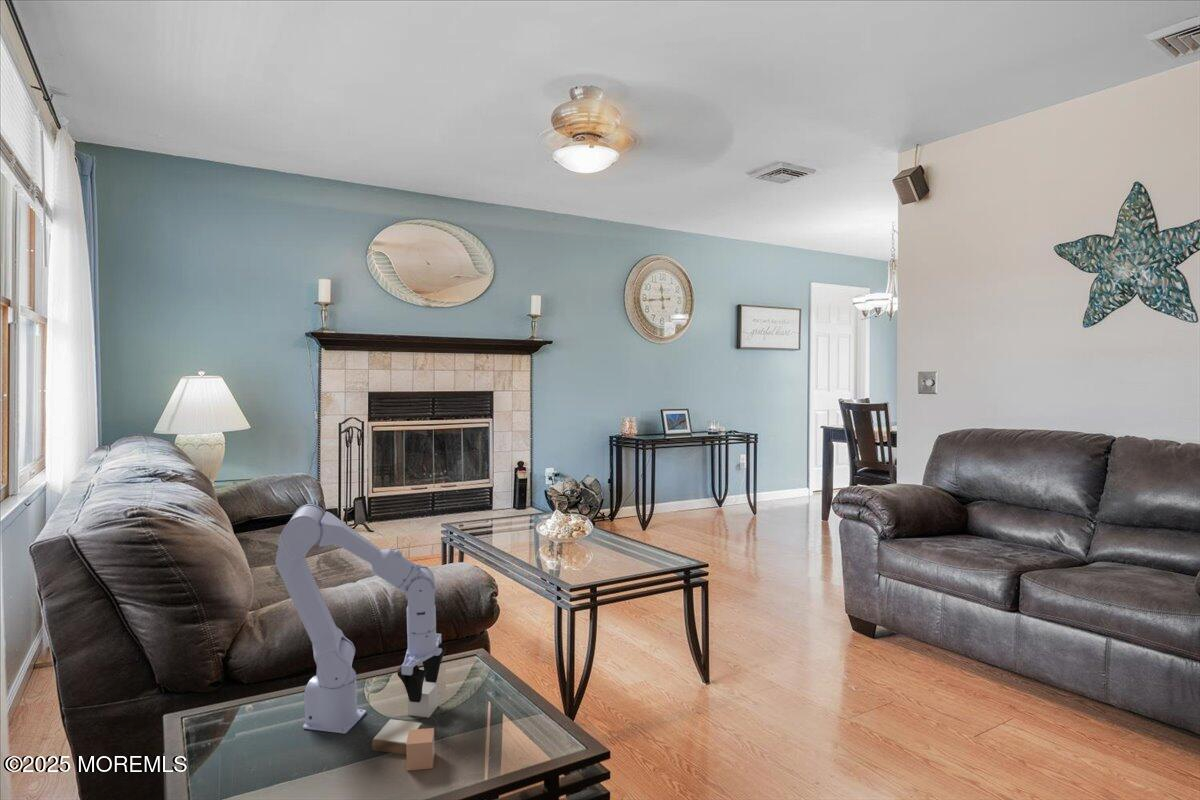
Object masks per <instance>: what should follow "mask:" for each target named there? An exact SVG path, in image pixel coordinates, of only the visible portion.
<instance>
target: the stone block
mask: <svg viewBox="0 0 1200 800" xmlns="http://www.w3.org/2000/svg"><path fill="white" fill-rule="evenodd" d="M438 707H439V683H438V682H436V683H432V682H426V681H423V687H422V697H421V701H420V702H419V703H418V702H410V700H409V697H408V696H407V709H408V710H407V711H408V712H407V713H408V714H407V715H408V716H414V717H421V718H430V717H431V715H432V714H433V713H434V712H435V711H436V709H437V708H438Z"/></svg>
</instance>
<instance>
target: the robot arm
mask: <svg viewBox="0 0 1200 800" xmlns="http://www.w3.org/2000/svg"><path fill="white" fill-rule="evenodd" d="M278 541H279V542H278V548H277V551H276V556H275V560H274V561H275V566H276V569H277V571H278V572H279V575H280V577H281V579H282V581H283V583H284V586H285V588H286V590H287V593H288V594H289V596H290V598H291V601H292V603H293V605H294V608H295V609H296V611H297V613H298V616H299V618H300V620H301V622H302V624H303V626H304V629H305V631H306V633H307V635H308V637H309V639H310V641H311V645H312V651H313V652H312V653H313V660H314V662H315V665H316V674H315V675H314V676H312V677H311V678H310V679H309V681H308V682H307V684H306V686H305V690H304V693H303V694H304V695H303V696H304V697H303V702H304V703H303V704H304V724H303V725H302V729H305V730H313V731H320V732H329V733H336V734H337V733H338V734H345V735H346V734H347V733H348V732H349V731H350V730H351V729H352V728H353V727H354V726H355V725H356V724H357V722H359V721H360V720H361V719H362V717H364V716H365V714H366V713H367V710H366V709H362V708H361V709H360V708H358V698H357V697H358V694H357V693H358V692H357V691H358V690H357V689H358V688H357V672H356V670H355V669H354V668H353V666H352V665H353V661H354V658H355V655H356V647H355V645H354V643H353V641H351V640H350V639H348V638H347V637H346V636H345V635H344V633H343V630H342V629H341V628H339V627H338V626H337V625H336V623H335V621H334V619H333V617H332V614H331V612H330V610H329V608H328V605H327V604H326V602H325V599H324V596H323V595H322V593H321V590H320V588H319V586H318V584H317V581H316V580H315V576H314V575H313V573H312V571H311V568H310V566H309V563H308V562H307V559H306V556H307V554H308V552H309V551H310V549H311V548H312V547H313V546H314V545H315V544H316V543H317V542H318V541H320V542H319V544H318V547H321V548H322V547H328V546H334V545H336V546H338V547H340V548H342V549H344V550H345V551H347V552H349V553H351V554H352V555H354V556H356V557H358V558H360V559H362V560H363V561H365V562H366V563H368V564H370V565H371V569H372V570H371V571H372V573H373V574H374V575H376V576H377V577H379V578H380V579H382V580H384V582H387V583H388V584H389V585H391V586H393V587H394V588H396V589H398V590H399V591H403V592H404V595H405V598H406V600H407V607H406V633H407V649H406V652H405V656H404V660H403V663H402V664H401V666H400V667H399V668H398V669H397V677H399V679H400V680H401V682H402V684H403V685H404V687H405V691H406V694H407V698H408V697H409V700H410V702H418V703H419V702H420V701H421V697H422V687H423V682H432V683H437V681H438V678H439V671H440V667H441V663H442V662H443V661H442V660H443V657H444V655H445V653H446V651H447V647H446V646H444V645H441V643H442V633H437V614H436V613H437V612H436V610H437V608H436V604H435V602H436V597H435V595H436V592H437V591H436V590H437V589H436V579H435V575H434V573H433V572H432V571H433V570H431V569H429V567H428V566H426V565H422V564H420V563H418V562H417V564H416V563H414V562H413V561H411V560H410V559H408V558H407V557H405V556H404V555H403V551H402V550H400V549H398V548H397V549H396V550H394V549H393V548H380V547H378V546H377V545H375V543H373V542H372V541H370V540H368V539H367V538H366V537H364V536H363V535H361V534H360V533H359V532H358V531H356V530H354V529H353V528H352V527H350V526H349V525H348V524H346V523H344V522H343V521H342V520H341V519H339V518H338V517H337V516H336V515H334V514H333V513H331V512H329V511H327V510H326V511H325V510H324V509H323V508H322V507H320V506H318V505H317V504H314V503H313V504H312V503H307V504H304V505H301V506H300V507H299V508H297V509H296V510H295V512H294V513H293V515H292V516H291V517H290V520H289V521H287V523H286V525H285V526H284V528H283V530H282V531H281V533H280V534H279V540H278ZM420 664H422V666H423V669H420V667H419V665H420ZM424 680H425V681H424Z"/></svg>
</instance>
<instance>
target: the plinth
mask: <svg viewBox="0 0 1200 800" xmlns="http://www.w3.org/2000/svg"><path fill="white" fill-rule="evenodd" d="M414 729H424V723H422V722H417V721H408V720H399V719H392V718H390V719H389V720H388V721H387V722H386V723H385V724H384V726H383V727H382V728H381V729H380V730H379V732H378V733H376V735H375V736H374V737H373V739H372V740H371V747H372V748H371V750H372V751H375V752H383V753H392V754H397V755H406V743H407V738H408V733H409V730H414Z"/></svg>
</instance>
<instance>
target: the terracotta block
mask: <svg viewBox="0 0 1200 800" xmlns="http://www.w3.org/2000/svg"><path fill="white" fill-rule="evenodd" d="M435 752H436V751H435V727H428V728H423V729H414V730H409V733H408V738H407V743H406V771H418V770H419V771H420V770H427V769H433V768H434V761H435Z"/></svg>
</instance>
